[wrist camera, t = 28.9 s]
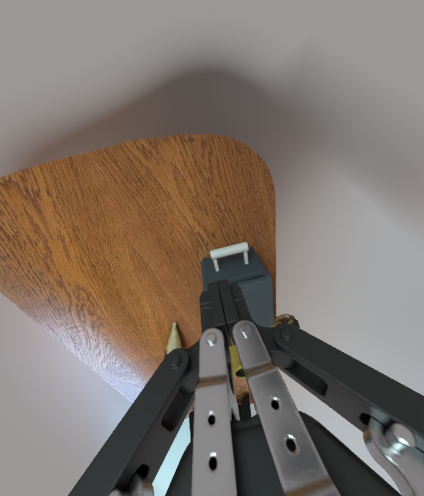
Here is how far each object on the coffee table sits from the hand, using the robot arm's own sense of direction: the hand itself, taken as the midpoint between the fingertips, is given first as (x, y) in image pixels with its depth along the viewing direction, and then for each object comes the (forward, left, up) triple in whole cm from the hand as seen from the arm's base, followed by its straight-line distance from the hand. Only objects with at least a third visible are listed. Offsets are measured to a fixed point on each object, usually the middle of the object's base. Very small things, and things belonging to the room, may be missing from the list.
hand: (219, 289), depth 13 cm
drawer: (+15, +3, -21) cm, 25 cm away
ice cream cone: (+29, -14, -21) cm, 38 cm away
